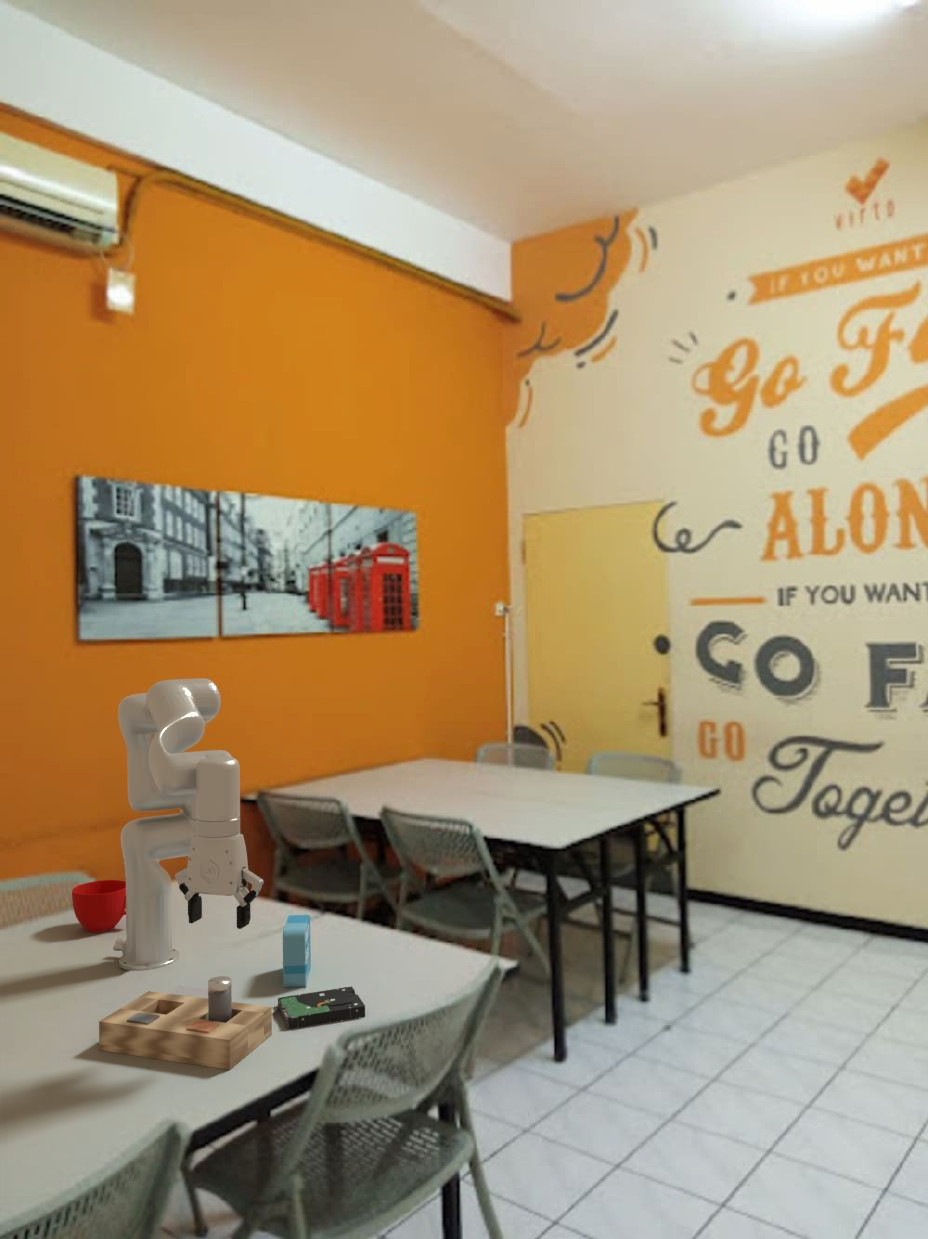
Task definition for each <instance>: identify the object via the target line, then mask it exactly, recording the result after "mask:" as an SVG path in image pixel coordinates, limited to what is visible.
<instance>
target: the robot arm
mask: <svg viewBox="0 0 928 1239" xmlns="http://www.w3.org/2000/svg"><path fill="white" fill-rule="evenodd" d="M221 703H222V702H221V693H220V691H219V689H218V686H217V685H216V684H215V682H214V681H212V680H211V679H208V678H204V677H203V678H202V677H199V678H181V679H180V678H178V679H177V678H176V679H165V680H161V681H158V682H155V683H154V684H153V685H152V686H150V687H149V689H148V690H147V692H142V693H135V694H131V695H128V696H125V697H123V699H121V701H119V704H118V709H117V710H118V711H117V718H118V724H119V729H120V733H121V734H122V737H123V739H124V744H125V746H126V747H125V748H126V751H127V752H126V754H127V762H126V764H127V797H128V798H127V799H128V803H129V806H130V808H131V809H132V810H133V811H136V812H139V813H140V812H141V813H148V812H149V813H150V812H159V811H168V810H176V809H177V810H178V809H179V810H180V813H171V814H164V815H162V814H160V815H153V816H146V817H145V816H144V817H141V818H135V819H133V820H130V821H128V822H127V823H126V824H125V825H124V826H123V827H122V829H121V832H120V845H121V851H122V857H123V862H124V874H125V875H124V876H125V882H126V910H125V911H126V915H125V919H126V921H125V925H126V926H125V927H126V929H125V930H126V931H125V932H126V933H125V934H126V938H116V940H115V942H114V945H113V947H112V950H113V951H118V952H120V951H121V953H122V956H121V957H120V958H119V959H118V965H119V967H120V968H121V969H123V970H125V971H129V972H130V971H132V970H133V971H147V970H148V971H149V970H155V969H160V968H164V967H166V966H170V965H172V964H174V963H176V962H177V961H178V960H180V958H181V957H180V956H181V954H180V951H179V950H177V949H176V948H173V898H172V894H173V892H172V879H171V876H170V874H169V873H168V871H167V870H166V869H165V868H164V867H162V866H161V864H160V861H164V860H168V859H175V858H184V857H187V867H185V868H183V869H182V870H179V871H178V872H176V873H175V874H174V877H175V880H176V882H177V884H178V888H179V890H180V891H181V893H182V894H183V895H184V899H185V901H187V916H188V923H189V924H194V923H197V921H199V920H201V919H202V917H203V899H202V895H200V894H203V895H211V896H222V897H232V896H233V897H234V898H235V900H236V902H237V903H238V904H239V905H237V906H236V928H237V929H238V930H242V929H243V928H244V927H247V926H248V925H249V924H250V922H251V916H252V915H251V903H252V902H253V901H254V900H255V899H256V898H257V897H258V895H260V892H261V890H262V887H263V886H264V884H265V883H264V882H265V881H264V879H263V878H261V877H260V876H258V875H257V874H255V873H254V872H252V871H251V870H249V865H248V864H249V863H248V853H247V846H246V842H245V841H246V840H245V836H244V834H242V833H241V773H240V772H241V770H240V769H241V768H240V766H241V765H240V763H239V761H238V759H237V758H235V757H233V756H232V755H231V753H229V752H228V751H227V750H224V749H223V750H222V749H214V750H213V749H211V750H198V751H188V750H189V749H190V748H192V747H194V746H195V745H196V744H197V743H199V742H200V741H201V739H203V736H204V734H205V731H206V725H207V724H208V723H209V722H211V721H213V720H214V718H216V717H217V715H218V714H219V712H220V708H221ZM186 750H187V751H186ZM185 751H186V752H185ZM249 883H250V884H251V889H250V891H249V889H248V885H249Z"/></svg>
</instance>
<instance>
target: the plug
mask: <svg viewBox="0 0 928 1239" xmlns="http://www.w3.org/2000/svg"><path fill="white" fill-rule="evenodd" d="M207 989H208V1020H209V1021H216V1022H224V1023H226V1022H228V1021H229V1020H230V1019H232V1002H233V1000H232V997H233V996H232V978H231V977H230V976H223V975H221V976H215V977H212V978H209V979H208V981H207Z"/></svg>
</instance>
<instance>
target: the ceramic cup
mask: <svg viewBox="0 0 928 1239" xmlns="http://www.w3.org/2000/svg"><path fill="white" fill-rule="evenodd" d="M71 899H72V900H71V902H72V907H73V912H74V915H75V917H76V919H77V921H78V923H79V924H80V925H81V926H82V927H83V928H84V929H85V930H86V932H89V931H90V932H89V933H103V932H102V931H104V932H107V931H106V930H108V931H110V930H114V929H115V928H116V926H118V924H119V923H120V922H121V920H122V918H124V916H126V880H120V879H118V880H117V879H103V880H94V881H89V882H84V883H82V884H79V885H76V886H74V887H73V889H72V890H71Z"/></svg>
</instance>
